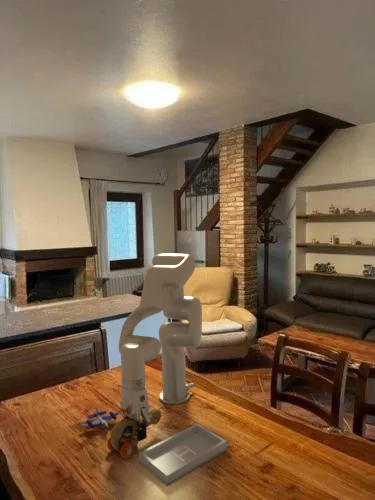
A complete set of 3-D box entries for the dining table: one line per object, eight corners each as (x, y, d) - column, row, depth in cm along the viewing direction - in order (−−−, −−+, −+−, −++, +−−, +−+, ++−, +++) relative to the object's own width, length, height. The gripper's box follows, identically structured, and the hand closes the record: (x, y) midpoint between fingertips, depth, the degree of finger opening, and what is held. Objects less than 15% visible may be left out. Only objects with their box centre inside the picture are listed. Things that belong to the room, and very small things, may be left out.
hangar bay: (197, 431, 130) (197, 423, 130) (227, 449, 120) (226, 440, 119) (139, 462, 115) (138, 452, 114) (167, 486, 104) (167, 475, 104)
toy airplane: (112, 440, 126) (112, 430, 126) (75, 435, 130) (75, 425, 129) (128, 420, 139) (128, 411, 138) (94, 416, 142) (94, 407, 142)
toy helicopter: (104, 454, 119) (102, 412, 118) (151, 425, 135) (150, 388, 134) (121, 464, 114) (119, 421, 113) (168, 433, 129) (167, 395, 128)
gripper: (159, 386, 117) (160, 441, 119) (129, 370, 130) (130, 420, 132) (138, 394, 112) (140, 451, 114) (109, 377, 126) (111, 428, 127)
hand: (135, 434), depth 123 cm, fingers closed on toy helicopter, 7 cm apart
